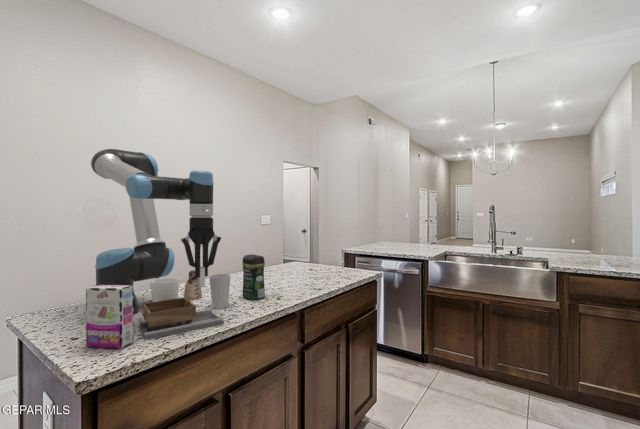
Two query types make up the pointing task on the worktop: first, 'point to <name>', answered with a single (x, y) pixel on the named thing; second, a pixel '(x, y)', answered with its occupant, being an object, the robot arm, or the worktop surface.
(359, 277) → the worktop surface
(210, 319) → the grey metal tray
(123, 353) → the worktop surface
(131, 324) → the candy bar box
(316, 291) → the worktop surface
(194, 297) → the figurine
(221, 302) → the cup
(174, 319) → the open wooden crate
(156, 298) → the foam cup
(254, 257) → the coffee jar
